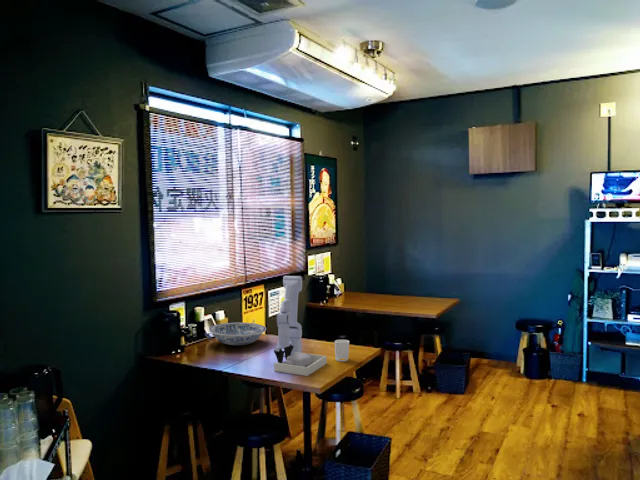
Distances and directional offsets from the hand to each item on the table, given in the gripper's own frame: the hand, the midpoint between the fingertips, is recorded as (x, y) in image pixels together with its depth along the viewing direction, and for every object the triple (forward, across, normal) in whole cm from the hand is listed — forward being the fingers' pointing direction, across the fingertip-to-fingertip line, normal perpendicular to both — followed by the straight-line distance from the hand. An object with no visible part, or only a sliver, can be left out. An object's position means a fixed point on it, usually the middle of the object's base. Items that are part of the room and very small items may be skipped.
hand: (284, 361), depth 252 cm
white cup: (+2, -21, +24) cm, 32 cm away
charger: (+2, -1, +6) cm, 6 cm away
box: (+2, 0, +10) cm, 10 cm away
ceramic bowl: (+2, -25, -46) cm, 53 cm away
